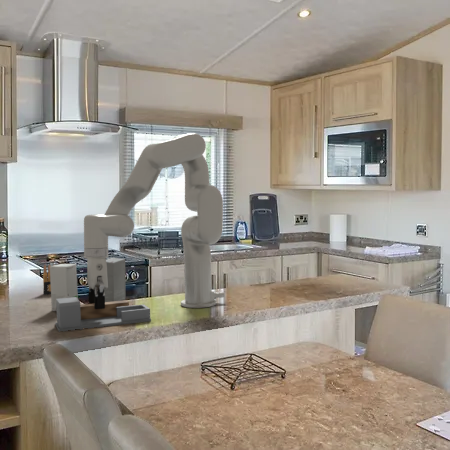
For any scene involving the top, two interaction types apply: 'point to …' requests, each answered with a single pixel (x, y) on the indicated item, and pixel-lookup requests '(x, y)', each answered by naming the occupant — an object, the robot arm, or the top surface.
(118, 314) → the endcap board
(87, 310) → the slat
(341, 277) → the top surface
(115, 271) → the skincare box
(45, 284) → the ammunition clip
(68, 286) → the skincare box
